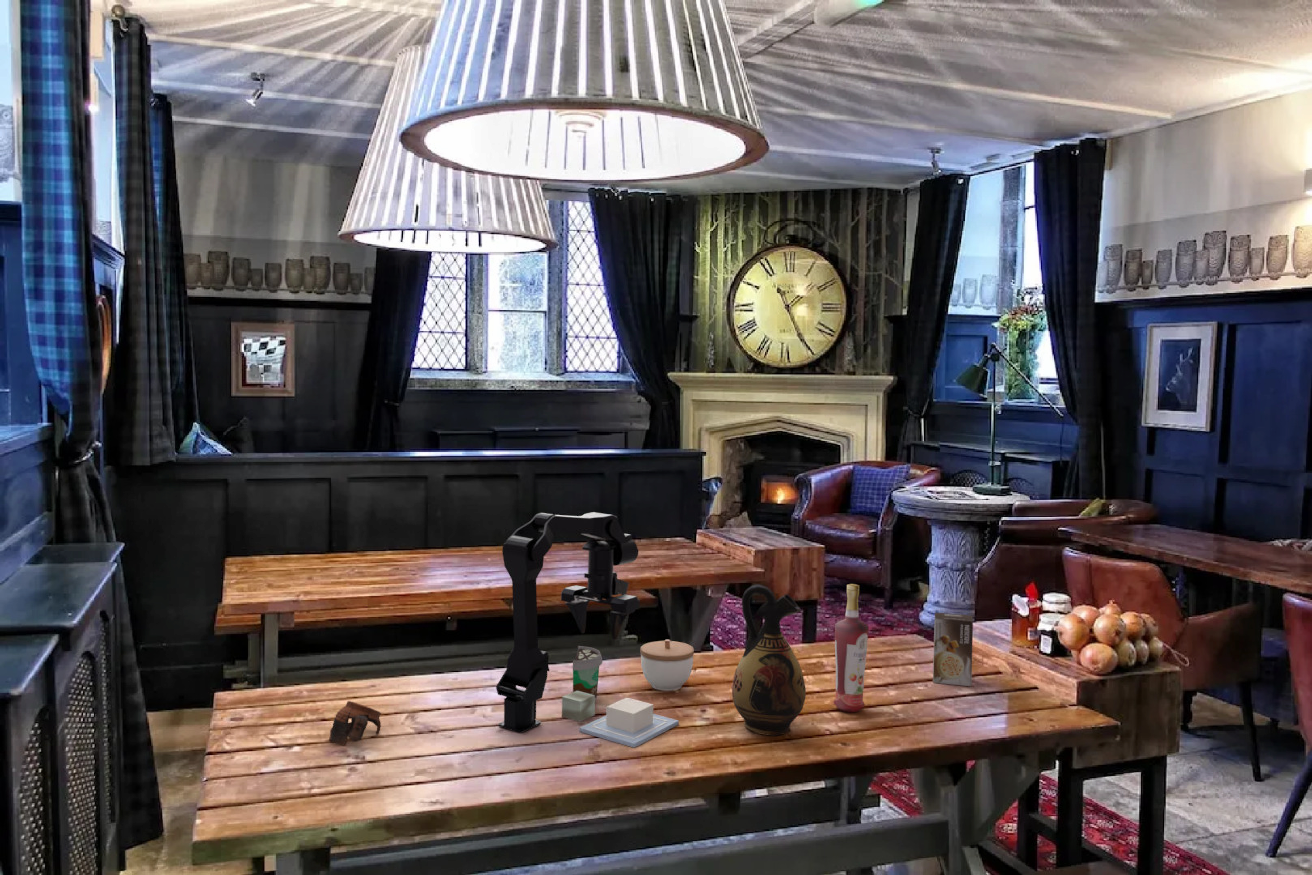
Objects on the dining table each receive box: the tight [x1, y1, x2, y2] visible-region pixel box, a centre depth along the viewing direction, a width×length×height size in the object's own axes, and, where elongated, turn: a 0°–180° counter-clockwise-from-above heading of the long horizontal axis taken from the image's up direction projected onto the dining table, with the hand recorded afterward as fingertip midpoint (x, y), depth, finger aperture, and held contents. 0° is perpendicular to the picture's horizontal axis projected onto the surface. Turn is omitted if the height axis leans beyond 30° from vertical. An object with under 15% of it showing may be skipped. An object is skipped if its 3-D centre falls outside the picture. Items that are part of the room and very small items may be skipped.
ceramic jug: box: [731, 584, 807, 737], centre depth 209 cm, size 17×15×30 cm
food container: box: [572, 645, 603, 699], centre depth 226 cm, size 12×6×10 cm, turn 179°
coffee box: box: [932, 612, 974, 687], centre depth 242 cm, size 9×6×16 cm
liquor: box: [833, 583, 869, 714], centre depth 220 cm, size 7×7×28 cm
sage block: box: [561, 691, 596, 722], centre depth 214 cm, size 5×5×4 cm
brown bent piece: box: [329, 700, 382, 746], centre depth 199 cm, size 12×10×8 cm
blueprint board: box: [578, 697, 680, 748], centre depth 207 cm, size 16×14×5 cm
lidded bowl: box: [639, 639, 695, 692], centre depth 234 cm, size 13×13×11 cm
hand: (598, 635), depth 227 cm, fingers open, 9 cm apart
